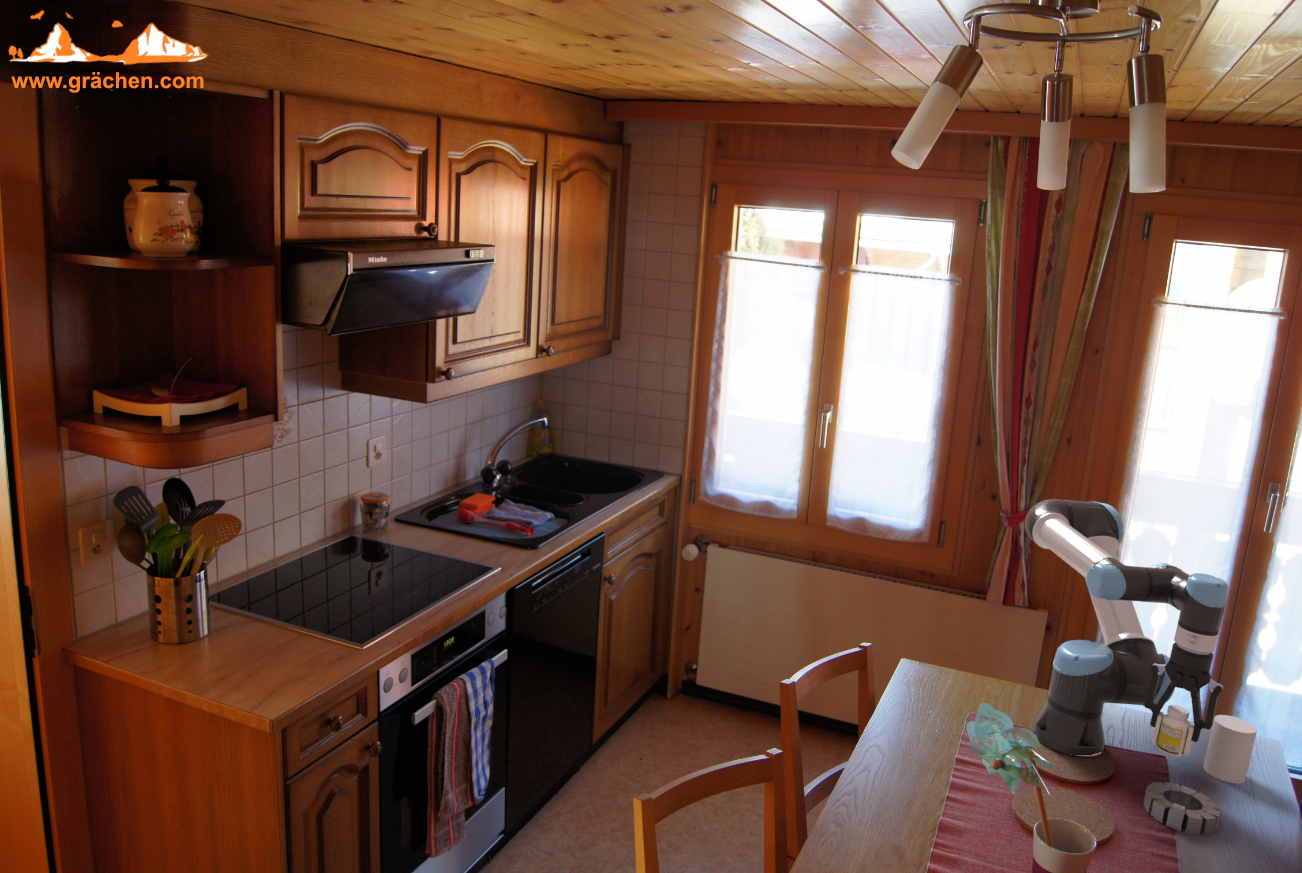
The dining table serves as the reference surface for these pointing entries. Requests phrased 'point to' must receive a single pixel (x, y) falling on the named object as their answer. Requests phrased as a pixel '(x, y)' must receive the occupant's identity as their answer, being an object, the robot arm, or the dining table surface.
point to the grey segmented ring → (1182, 808)
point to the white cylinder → (1230, 748)
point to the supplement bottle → (1173, 731)
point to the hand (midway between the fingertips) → (1170, 747)
